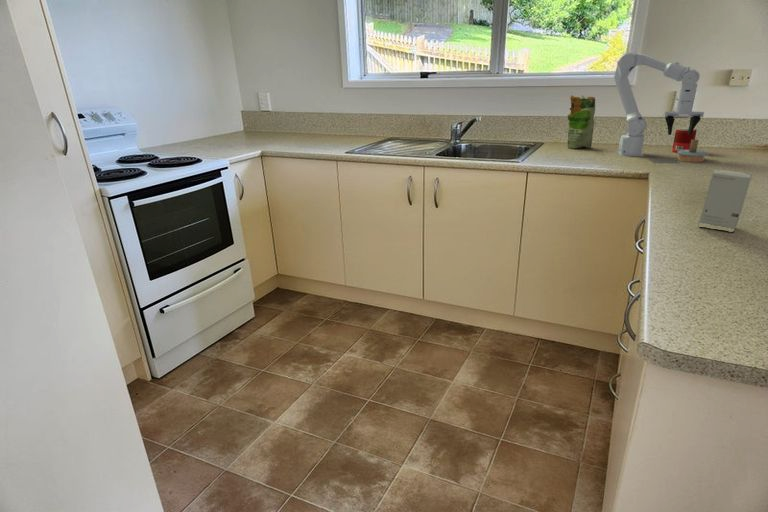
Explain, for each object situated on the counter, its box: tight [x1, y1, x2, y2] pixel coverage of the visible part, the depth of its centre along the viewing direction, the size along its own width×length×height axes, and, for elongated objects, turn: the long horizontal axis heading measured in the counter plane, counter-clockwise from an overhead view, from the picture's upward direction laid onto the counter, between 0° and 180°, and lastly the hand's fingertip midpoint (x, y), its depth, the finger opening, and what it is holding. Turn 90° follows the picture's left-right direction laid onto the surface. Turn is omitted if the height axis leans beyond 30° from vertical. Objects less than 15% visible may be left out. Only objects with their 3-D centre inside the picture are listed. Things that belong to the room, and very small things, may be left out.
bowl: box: [677, 154, 705, 163], centre depth 203 cm, size 9×9×3 cm
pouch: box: [567, 94, 596, 150], centre depth 235 cm, size 11×12×25 cm
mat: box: [647, 157, 681, 164], centre depth 204 cm, size 10×10×1 cm
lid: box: [676, 139, 709, 156], centre depth 201 cm, size 11×11×6 cm
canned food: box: [671, 126, 698, 154], centre depth 217 cm, size 8×8×11 cm
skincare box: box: [698, 169, 753, 230], centre depth 126 cm, size 8×6×15 cm
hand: (679, 134), depth 206 cm, fingers open, 7 cm apart
